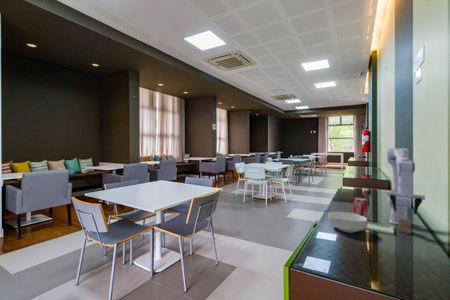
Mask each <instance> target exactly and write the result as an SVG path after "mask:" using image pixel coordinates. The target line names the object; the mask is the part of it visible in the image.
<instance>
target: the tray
mask: <svg viewBox="0 0 450 300" xmlns="http://www.w3.org/2000/svg"><path fill="white" fill-rule="evenodd" d="M363 230H366V231H371V232H376V233H381V234H385V235H391V236H394V235H395V231H394V226H393V225H390V224H383V223H378V222H373V221H368V220H367V225H366V227H365V228H364V229H363Z"/></svg>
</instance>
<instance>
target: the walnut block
mask: <svg viewBox="0 0 450 300" xmlns="http://www.w3.org/2000/svg"><path fill="white" fill-rule="evenodd" d="M397 225H398V227H397V228H398V229H397V230H398V233H403V234H404V233H405V234H407V235H408V234H409V235H411V232H412V221H411V219H408V218H407V219H404V218H399V221H398V224H397Z"/></svg>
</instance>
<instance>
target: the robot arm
mask: <svg viewBox="0 0 450 300" xmlns="http://www.w3.org/2000/svg"><path fill="white" fill-rule="evenodd" d="M409 153H410V151H409V149H408V148H396V147H395V148H394V147H393V148H392V147H391V148H390V147H388V148H387V149H386V160H387V163H388V165H389V164H390V166H391V168H392V184H393V185H392V187H393V189H391V190H389V191H386V196H387V204H388V206H390V218H389V219H388V220H389V224H392V225H398V221H399V218H404V219H408V210H409V208H411V207H412V199H413V206H414V207H413V215H417V212H418V210H419V207H420V206H421V204H422V202H423V201H426V195H421V194H413V193H414V187H413V186H414V185H413V184H414V173H415V171H416V165H415V163H416V162H415V160H411V159H410V157H409Z"/></svg>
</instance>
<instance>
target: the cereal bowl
mask: <svg viewBox="0 0 450 300" xmlns="http://www.w3.org/2000/svg"><path fill="white" fill-rule="evenodd" d="M327 219H328V222H329V223H330V225H332V227H335V228H336V229H338V230H339V231H341V232H343V233H344V232H345V233H350V234H353V233H356V232H359V231H362V230H365V229H364V228H365V227H366V225H367V221H368V218H367V219H366V218H365V217H363V216H361V215H357V214H353V212H345V211H330V212H328V213H327Z"/></svg>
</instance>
